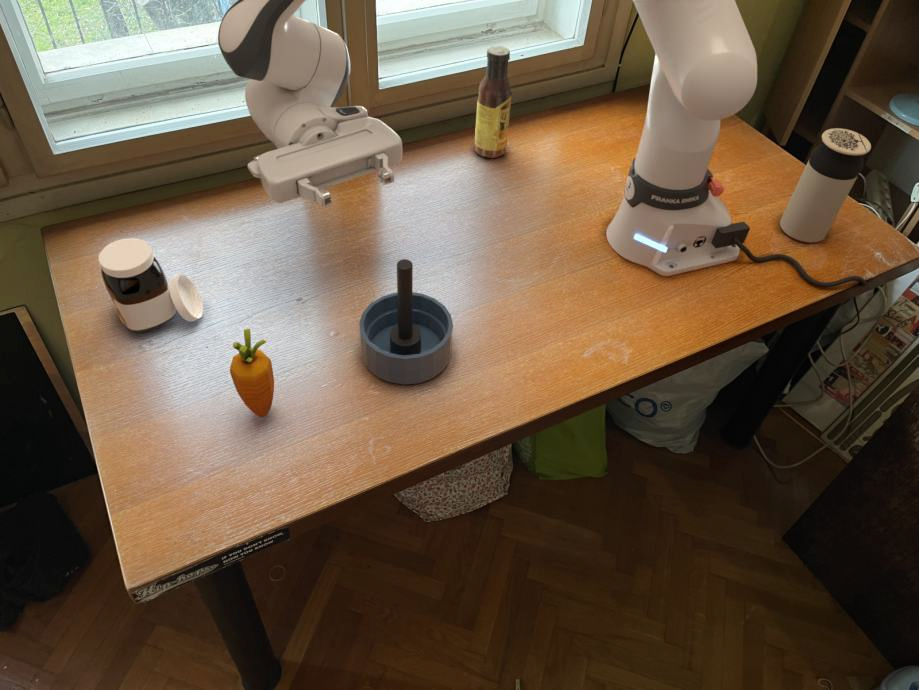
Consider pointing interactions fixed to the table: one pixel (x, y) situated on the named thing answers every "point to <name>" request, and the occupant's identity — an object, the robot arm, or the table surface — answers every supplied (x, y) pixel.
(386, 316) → the bowl
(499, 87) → the sauce bottle
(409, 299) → the black rod with base
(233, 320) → the table surface
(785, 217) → the travel mug
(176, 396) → the table surface
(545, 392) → the table surface
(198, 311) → the spread jar
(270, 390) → the carrot
